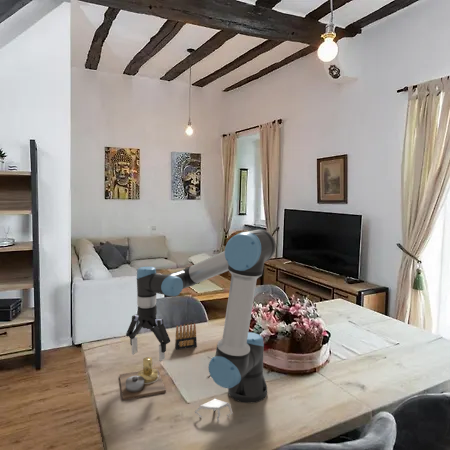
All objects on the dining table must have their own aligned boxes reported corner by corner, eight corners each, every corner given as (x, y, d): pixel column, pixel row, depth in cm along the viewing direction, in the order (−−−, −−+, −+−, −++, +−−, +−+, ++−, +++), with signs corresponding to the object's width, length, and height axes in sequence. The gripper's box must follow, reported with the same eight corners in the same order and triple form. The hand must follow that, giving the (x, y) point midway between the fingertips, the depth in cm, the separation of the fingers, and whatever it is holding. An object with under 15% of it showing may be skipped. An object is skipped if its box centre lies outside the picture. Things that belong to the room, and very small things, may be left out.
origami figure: (223, 406, 132) (223, 393, 131) (233, 419, 124) (233, 405, 123) (192, 414, 127) (192, 400, 126) (200, 428, 119) (200, 414, 119)
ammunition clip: (195, 345, 183) (195, 322, 182) (196, 346, 181) (196, 323, 180) (175, 348, 179) (174, 324, 178) (175, 349, 178) (175, 326, 176)
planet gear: (159, 380, 146) (159, 361, 145) (139, 384, 143) (138, 365, 143) (155, 371, 154) (155, 353, 153) (136, 374, 151) (136, 356, 150)
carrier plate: (165, 392, 140) (165, 380, 139) (122, 400, 134) (122, 387, 134) (158, 370, 157) (157, 359, 156) (119, 376, 151) (119, 365, 151)
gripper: (178, 306, 144) (179, 358, 146) (128, 299, 154) (129, 347, 156) (167, 312, 137) (168, 366, 139) (116, 303, 147) (117, 354, 149)
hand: (148, 356), depth 147 cm, fingers open, 13 cm apart
